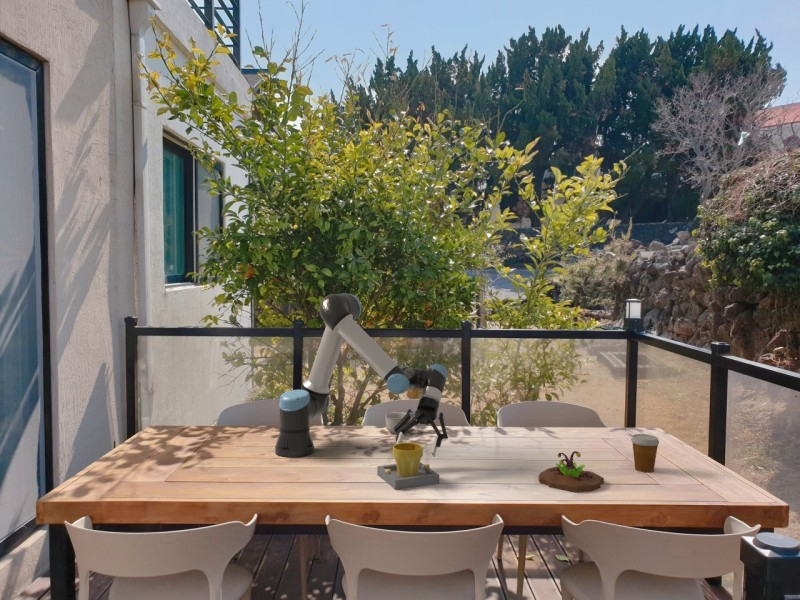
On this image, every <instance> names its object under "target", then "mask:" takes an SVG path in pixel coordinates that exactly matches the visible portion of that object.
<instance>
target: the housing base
mask: <svg viewBox="0 0 800 600" xmlns="http://www.w3.org/2000/svg"><path fill="white" fill-rule="evenodd" d="M376 467H377V469H376V470H377V472H376V473H377V474H376V475H377V476H378V477H379V478H380V479H382V480H383V481H384V482H385V483H387V484H388V485H389V486H390V487H392V488H393V490H402V489H408V488H409V489H410V488H417V487H423V486H430V485H436V484H437V485H438V484H440V473H438V472H436V471H435V470H433V469H431V468H430V464H429V463H425V464H424V463H422V462H421V461H420V465H419V470H418V474H417V476H413V477H401V476H399V475H398V470H397V465H396V463H393V464H385V465H377V466H376Z"/></svg>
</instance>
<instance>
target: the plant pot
mask: <svg viewBox="0 0 800 600" xmlns="http://www.w3.org/2000/svg"><path fill="white" fill-rule="evenodd" d="M423 456H424V447H423V445H422V444H420V443H416V442H402V443H399V444H396V443H395V444H393V446H392V457H393V458H394V459H395V460H394V461H395V464H396V465H397V470H398V475H399V476H401V477H413V476H417V474H418V470H419V465H420V462H421V460H422V459H421V458H423Z"/></svg>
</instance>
